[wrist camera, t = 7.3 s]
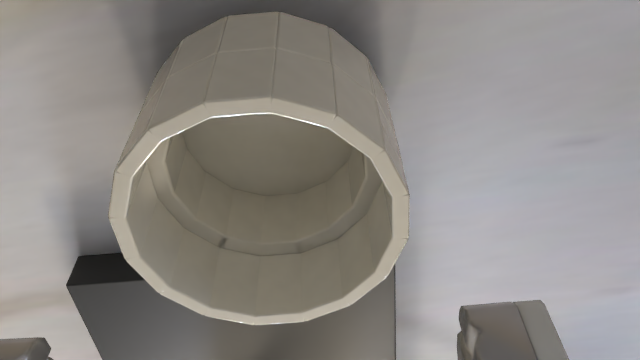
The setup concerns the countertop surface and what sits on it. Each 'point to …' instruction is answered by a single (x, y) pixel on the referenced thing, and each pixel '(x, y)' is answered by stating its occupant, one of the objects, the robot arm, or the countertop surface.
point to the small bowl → (262, 174)
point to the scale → (219, 323)
